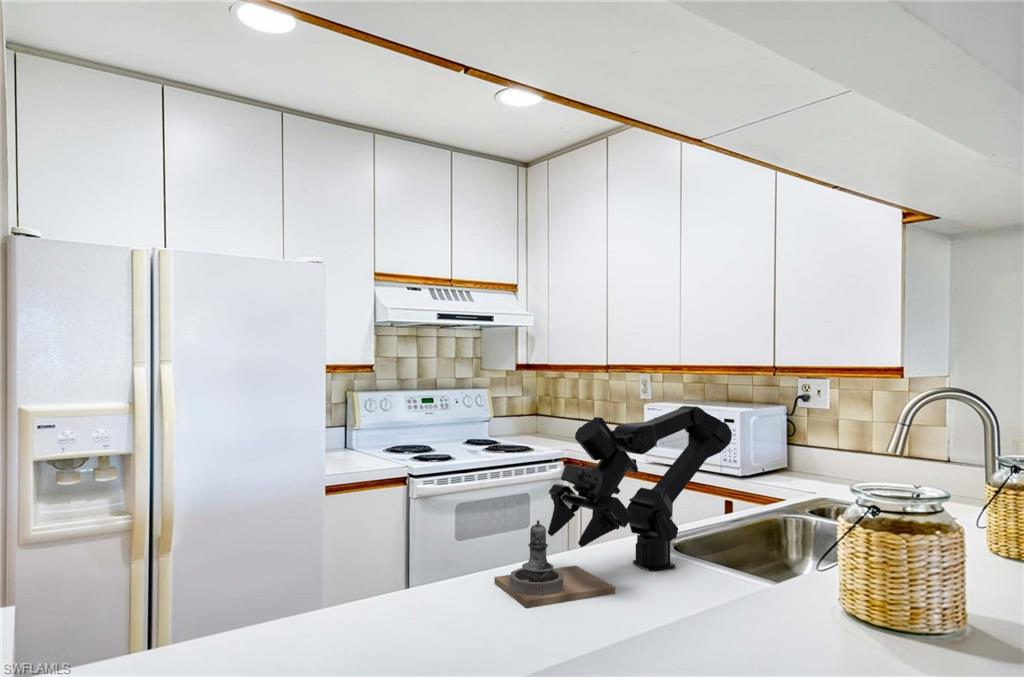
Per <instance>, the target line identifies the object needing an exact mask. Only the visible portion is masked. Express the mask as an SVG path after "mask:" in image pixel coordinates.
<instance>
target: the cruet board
mask: <svg viewBox="0 0 1024 677" xmlns="http://www.w3.org/2000/svg"><path fill="white" fill-rule="evenodd" d="M527 581H529V580H528V579H527V578H526V576H525V574H524V569H523V568H522V567H521V568H517V569H515V570H513V571H511V572H510V574H506V575H498V576H494V584H495V585H496V586H497V587H498V588H500V589H501V590H503V591H504V592H505V593H506V594H508V595H509V596H510V597H511V598H513V599H514V600H516V602H518V603H519V604H521V605H522V606H523V607H524V608H525V609H529V608H534V607H536V608H537V607H540V606H546V605H552V604H553V605H554V604H560V603H565V602H571V601H572V602H573V601H577V600H583V599H590V598H595V597H602V596H607V595H608V596H609V595H614V594H615V595H616V586H614V585H612V584H610V583H609V582H607V581H605V580H603V579H601V578H600V577H598V576H596V575H594V574H592V573H590V572H589V571H587V570H585V569H583V568H581V567H580V566H578V565H571V566H565V567H557V568H555V567H554V569H553V570H552V574H551V577H550V578H549V579H548V580H546V581H548V582H527Z"/></svg>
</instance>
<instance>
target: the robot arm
mask: <svg viewBox="0 0 1024 677" xmlns="http://www.w3.org/2000/svg"><path fill="white" fill-rule="evenodd" d="M606 423H607V422H606V421H605V419H604V418H603V417H599V416H594V417H593V419H592V420H590V421H587V422H585V423H584V424H583V425H582V426H579V428H578V429H577V430H576V432H575V435H574V439H575V440H576V442H577V443H578V444H579V445H580V447H582V449H583V450H584V451H585V453H586V454H587V455H588V456H589V457H590V459H591V460H593V461H598V462H597V464H596V465H595V466H594V465H590V464H587V465H586V466H585V467H583V466H578V465H573V464H570V463H565V464H564V468H563V471H562V474H561V476H560V480H562V481H563V482H568V483H569V484H572V485H573V486H572V488H573V489H574V490H575V492H574V491H573V489H572V488H571V487H570V486H568V485H565V484H560V483H554V484H553V485H552V486H551V487H550V489H549V490H548V494H549V495H550V498H551V500H552V501H553V512H552V516H551V520H550V523H549V526H548V530H547V534H548V535H549V536H550V537H552V536H555V534H556V533H558V532H559V531H560V530H561V529H562V528H563V527H564V526H565V525H567V524H568V523H569V522H570V521H571V520H572V519H573V518H574V517H575V516H576V514H575V513H576V512H577V511H578V510H580V508H581V507H582V508H585V509H589V510H592V515H591V519H590V521H589V522H588V524H587V526H586V527H585V529H584V531H583V532H582V534H581V536H580V537H579V540H578V543H577V544H578V545H579V546H580V547H581V548H583V547H585V546H586V545H588V544H591V543H592V542H593V541H596V540H597V539H599V538H600V537H602V536H604V535H607V534H609V533H611V532H613V531H615V530H619V529H620V528H626V527H627V526H628V524H629V527H630V532H631V533H632V534H637V535H636V543H635V559H633V560H632V563H633V564H635V565H637V566H638V567H641V568H643V569H645V570H647V571H651V572H654V571H660V570H666V569H667V570H668V569H673V568H676V564H674V563H671V541H673V540H674V539H677V537H678V532H679V527H678V526H677V525H676V524H675V522H674V521H673V520H672V517H673V504H674V502H675V501H676V499H677V498H678V497H679V495H680V494H681V493H682V491H683V490H684V489H685V488H686V486H687V485H688V484H689V483H690V481H691V480H692V479H693V477H694V476H695V475H696V473H697V472H698V471H699V469H700V468H701V467H702V466H703V464H704V463H705V462H706V461H707V459H709V458H711V457H714V456H715V455H718V454H721V452H723V451H724V450H725V449H726V448H727V447H728V446H729V445H730V443H731V441H732V437H733V432H732V430H731V429H730V426H729V424H728V423H726V422H725V421H722V420H721V419H720V418H717V417H715V416H713V415H711V414H709V413H708V412H706V411H705V410H703V409H702V408H701V407H699V406H695V405H694V406H691V405H682V406H680V407H678V408H677V409H674V410H673V411H670V412H667V413H665V414H662V415H659V416H657V417H654V418H652V419H649V420H647V421H640V422H628V423H627V422H626V423H622V424H618V425H617V426H616V427H614V430H611V429H610V428H609V426H608V424H606ZM683 430H685V432H686V433H687V434H688V436H687V437H688V438H687V439H688V441H687V442H688V444H687V446H686V447H685V448H684V450H683V451H682V452H681V453H680V454H679V455H678V457H677V458H676V459H675V461H673V463H672V464H671V466H669V468H668V470H666V472H665V473H664V474H663V476H662V477H661V478H660V479H659V480H658V482H657V483H656V484H655V486H654V487H652V488H647V487H640V488H639V489H637V491H636V493H635V494H634V495H633V496H632V497H631V498H630V499H628V500H629V503H628V504H627V506H625V505H624V504H623V502H622V501H621V500H620V498H619V497H616V496H613V494H614V495H619V493H620V492H621V489H620V488H619V485H620V483H622V480H623V479H624V477H625V476H626V475H627V473H628V472H629V473H634V474H638V473H639V468H638V465H637V459H635V458H632V457H630V456H629V455H628V454H635V455H645V454H646V453H648V452H650V450H652V449H653V448H655V447H656V445H657V443H658V442H659V441H660V440H662V439H664V438H667V437H668V436H672V435H674V434H676V433H678V432H681V431H683ZM576 492H577V493H578V494H576Z"/></svg>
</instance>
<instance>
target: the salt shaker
mask: <svg viewBox="0 0 1024 677" xmlns="http://www.w3.org/2000/svg"><path fill="white" fill-rule="evenodd" d="M529 530H530V532H529V533H530V534H529V536H530V538H529V541H530V542H529V543H528V547H529V559H528V561H527V562H524V563H523V564H522V566H521V568H523V569H524V574H525V576H526V578H527V579H528V580H529V581H527V582H548V581H546V580H548V579H549V578H550V577H551V574H552V570H553V569H555V566H554V564H552V563H550V562H548V559H547V548H548V546H549V545H548V544H547V529H546V527H545V526H544V525H543V524H541V521H540V520H539V519H537V520H536V523H535V524H533V525H532V526H530V529H529Z"/></svg>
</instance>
